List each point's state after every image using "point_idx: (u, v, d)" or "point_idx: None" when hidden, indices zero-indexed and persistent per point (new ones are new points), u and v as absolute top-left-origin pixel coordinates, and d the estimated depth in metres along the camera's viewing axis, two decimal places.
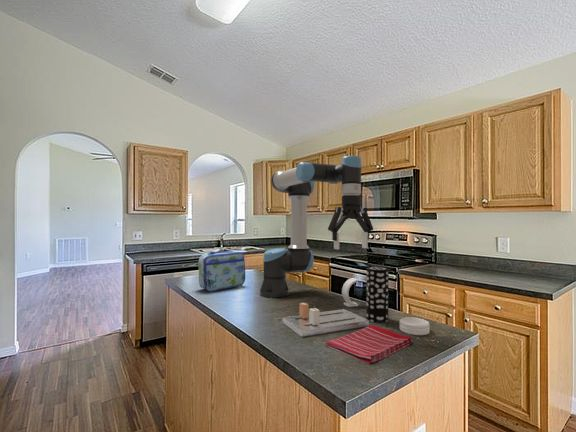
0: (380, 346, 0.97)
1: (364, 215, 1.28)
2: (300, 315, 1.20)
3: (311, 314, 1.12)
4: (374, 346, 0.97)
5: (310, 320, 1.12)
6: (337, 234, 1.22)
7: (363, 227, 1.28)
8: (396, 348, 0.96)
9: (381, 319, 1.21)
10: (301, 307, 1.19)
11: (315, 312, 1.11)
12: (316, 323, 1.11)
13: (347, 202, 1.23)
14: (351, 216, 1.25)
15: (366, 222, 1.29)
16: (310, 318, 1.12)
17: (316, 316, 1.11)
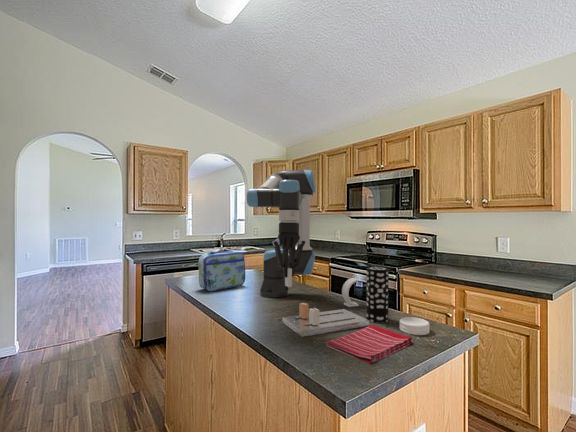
0: (380, 346, 0.97)
1: (299, 247, 1.18)
2: (300, 315, 1.20)
3: (311, 314, 1.12)
4: (374, 346, 0.97)
5: (310, 320, 1.12)
6: (288, 270, 1.16)
7: (290, 260, 1.17)
8: (396, 348, 0.96)
9: (381, 319, 1.21)
10: (301, 307, 1.19)
11: (315, 312, 1.11)
12: (316, 323, 1.11)
13: (282, 230, 1.14)
14: None
15: (296, 255, 1.18)
16: (310, 318, 1.12)
17: (316, 316, 1.11)
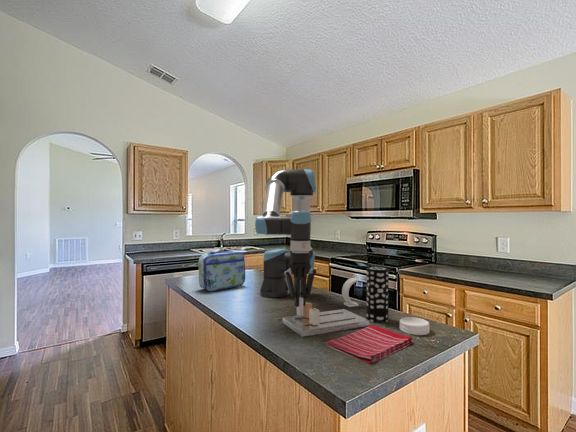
0: (380, 346, 0.97)
1: (310, 276, 1.20)
2: (303, 315, 1.20)
3: (311, 314, 1.12)
4: (374, 346, 0.97)
5: (310, 320, 1.12)
6: (299, 300, 1.18)
7: (301, 290, 1.19)
8: (396, 348, 0.96)
9: (381, 319, 1.21)
10: (305, 306, 1.19)
11: (315, 312, 1.11)
12: (316, 323, 1.11)
13: (294, 260, 1.16)
14: None
15: (307, 284, 1.20)
16: (310, 318, 1.12)
17: (316, 316, 1.11)
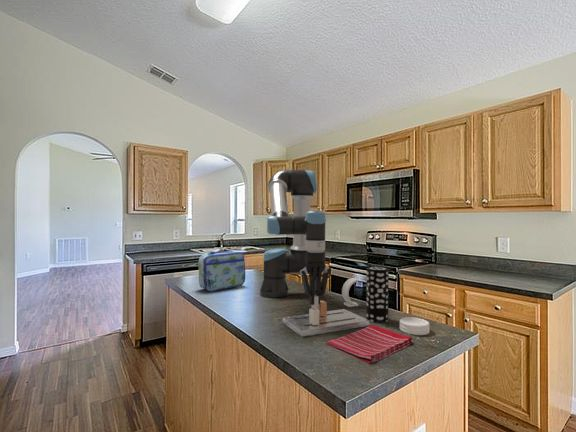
0: (380, 346, 0.97)
1: (324, 275, 1.23)
2: None
3: (311, 314, 1.12)
4: (374, 346, 0.97)
5: (310, 320, 1.12)
6: (314, 298, 1.20)
7: (316, 288, 1.22)
8: (396, 348, 0.96)
9: (381, 319, 1.21)
10: (319, 304, 1.22)
11: (315, 312, 1.11)
12: (316, 323, 1.11)
13: (309, 260, 1.19)
14: None
15: (322, 283, 1.23)
16: (310, 318, 1.12)
17: (316, 316, 1.11)
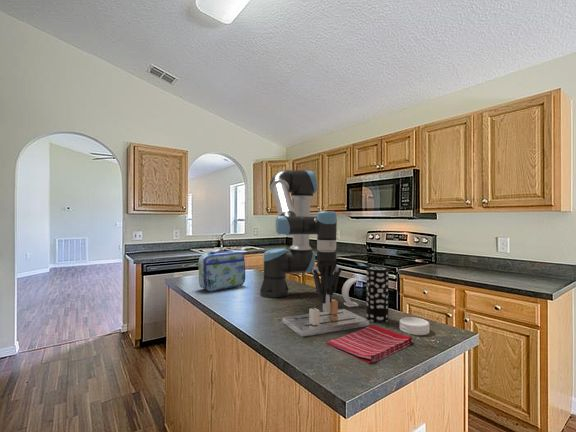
0: (380, 346, 0.97)
1: (335, 274, 1.25)
2: None
3: (311, 314, 1.12)
4: (374, 346, 0.97)
5: (310, 320, 1.12)
6: (326, 297, 1.22)
7: (328, 287, 1.24)
8: (396, 348, 0.96)
9: (381, 319, 1.21)
10: (331, 303, 1.24)
11: (315, 312, 1.11)
12: (316, 323, 1.11)
13: (321, 259, 1.21)
14: None
15: (333, 282, 1.25)
16: (310, 318, 1.12)
17: (316, 316, 1.11)
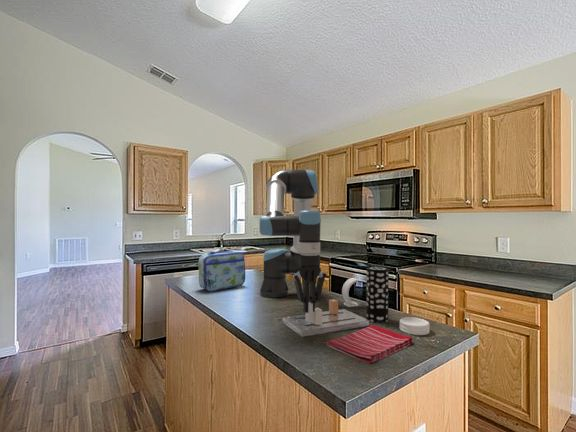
0: (381, 346, 0.97)
1: (319, 280, 1.13)
2: (330, 311, 1.25)
3: (313, 314, 1.12)
4: (375, 346, 0.97)
5: (313, 320, 1.13)
6: (308, 305, 1.10)
7: (311, 294, 1.12)
8: (397, 348, 0.96)
9: (381, 319, 1.21)
10: (331, 303, 1.24)
11: (318, 312, 1.11)
12: (319, 323, 1.11)
13: (303, 263, 1.09)
14: None
15: (317, 289, 1.13)
16: (313, 318, 1.13)
17: (319, 316, 1.11)
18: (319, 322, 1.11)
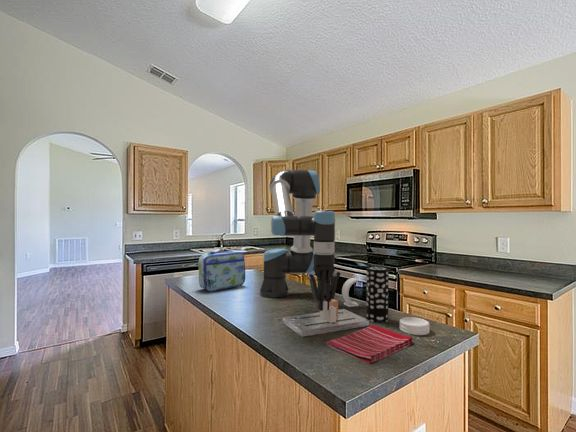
0: (381, 346, 0.97)
1: (334, 279, 1.15)
2: None
3: (328, 312, 1.15)
4: (375, 346, 0.97)
5: (327, 318, 1.15)
6: (323, 304, 1.13)
7: (325, 293, 1.14)
8: (397, 348, 0.96)
9: (381, 319, 1.21)
10: (331, 303, 1.24)
11: (332, 310, 1.14)
12: (333, 320, 1.14)
13: (318, 263, 1.11)
14: None
15: (331, 287, 1.15)
16: (327, 316, 1.15)
17: (333, 314, 1.14)
18: (333, 320, 1.14)
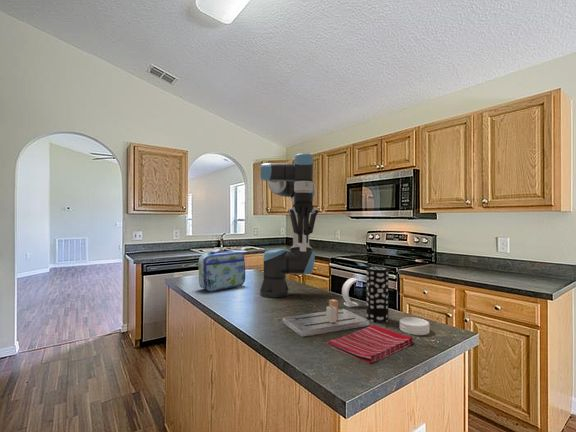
0: (381, 346, 0.97)
1: (312, 216, 1.29)
2: None
3: (328, 312, 1.15)
4: (375, 346, 0.97)
5: (327, 318, 1.15)
6: (302, 237, 1.26)
7: (304, 228, 1.28)
8: (397, 348, 0.96)
9: (381, 319, 1.21)
10: (331, 303, 1.24)
11: (332, 310, 1.14)
12: (333, 320, 1.14)
13: (298, 199, 1.25)
14: None
15: (310, 223, 1.29)
16: (327, 316, 1.15)
17: (333, 314, 1.14)
18: (334, 320, 1.14)
